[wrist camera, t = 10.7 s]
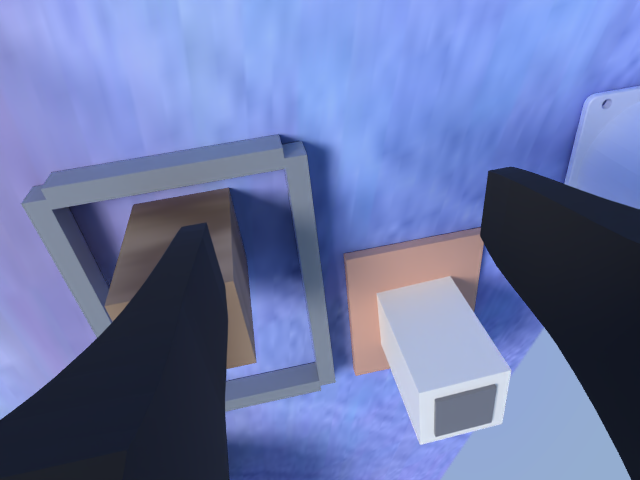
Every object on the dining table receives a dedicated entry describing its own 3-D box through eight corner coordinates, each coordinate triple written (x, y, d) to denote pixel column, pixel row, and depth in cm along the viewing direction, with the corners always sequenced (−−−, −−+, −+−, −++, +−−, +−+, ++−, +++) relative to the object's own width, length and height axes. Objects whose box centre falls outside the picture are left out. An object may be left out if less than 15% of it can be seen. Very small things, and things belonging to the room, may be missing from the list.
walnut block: (228, 187, 22) (233, 281, 16) (247, 260, 25) (256, 362, 19) (133, 204, 22) (104, 306, 16) (162, 276, 24) (146, 386, 19)
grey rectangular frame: (300, 130, 21) (305, 143, 20) (331, 368, 31) (336, 386, 30) (27, 176, 20) (15, 193, 19) (151, 407, 30) (148, 428, 29)
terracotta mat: (480, 227, 26) (485, 233, 26) (464, 344, 32) (468, 351, 32) (343, 253, 26) (346, 260, 25) (353, 368, 31) (355, 375, 31)
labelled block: (450, 276, 27) (513, 373, 21) (448, 327, 30) (504, 427, 24) (376, 293, 27) (420, 397, 21) (381, 344, 30) (421, 448, 24)
